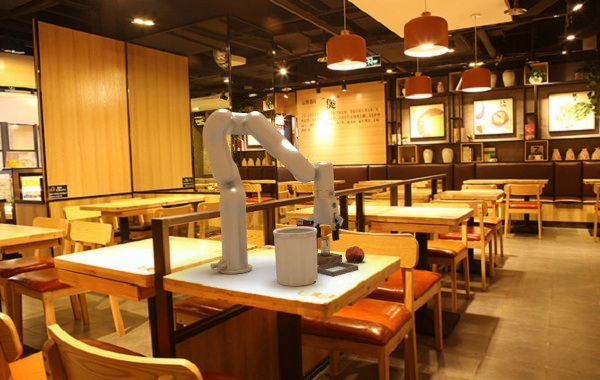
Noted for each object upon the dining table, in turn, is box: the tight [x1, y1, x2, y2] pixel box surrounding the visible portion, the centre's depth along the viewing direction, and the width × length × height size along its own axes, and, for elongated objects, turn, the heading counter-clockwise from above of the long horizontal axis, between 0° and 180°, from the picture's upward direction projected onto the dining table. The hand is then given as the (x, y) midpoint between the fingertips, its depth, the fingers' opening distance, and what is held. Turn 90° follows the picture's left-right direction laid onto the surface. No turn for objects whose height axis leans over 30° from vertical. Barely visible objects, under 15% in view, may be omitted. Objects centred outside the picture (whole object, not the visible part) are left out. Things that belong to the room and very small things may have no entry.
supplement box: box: [296, 217, 319, 254], centre depth 189 cm, size 9×5×16 cm, turn 41°
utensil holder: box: [272, 225, 318, 287], centre depth 150 cm, size 15×15×18 cm
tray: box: [317, 261, 359, 278], centre depth 159 cm, size 13×10×2 cm
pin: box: [320, 235, 331, 257], centre depth 171 cm, size 3×3×10 cm
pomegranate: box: [344, 245, 365, 265], centre depth 172 cm, size 7×7×10 cm
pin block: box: [317, 252, 343, 266], centre depth 171 cm, size 9×9×4 cm
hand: (326, 239), depth 171 cm, fingers open, 9 cm apart
